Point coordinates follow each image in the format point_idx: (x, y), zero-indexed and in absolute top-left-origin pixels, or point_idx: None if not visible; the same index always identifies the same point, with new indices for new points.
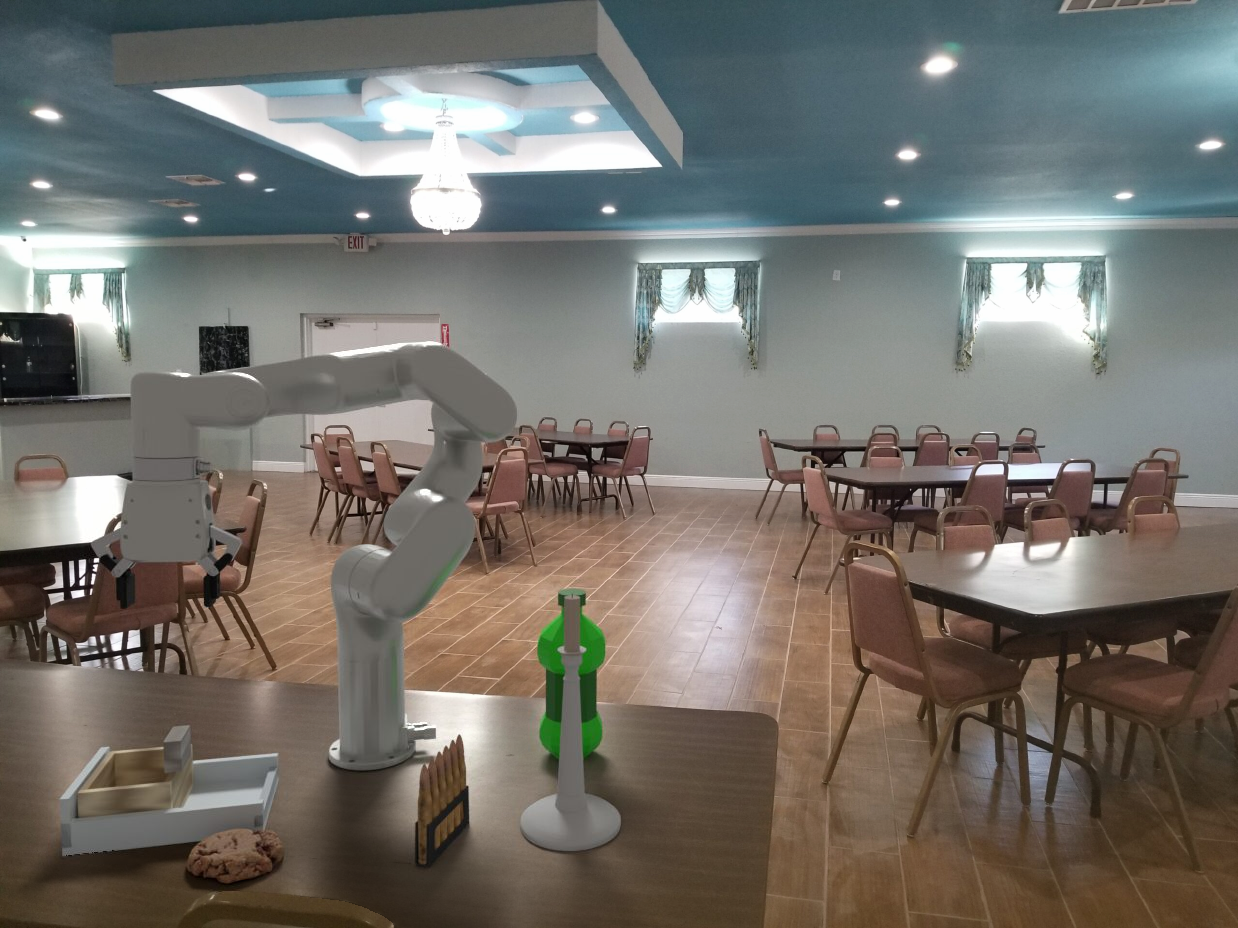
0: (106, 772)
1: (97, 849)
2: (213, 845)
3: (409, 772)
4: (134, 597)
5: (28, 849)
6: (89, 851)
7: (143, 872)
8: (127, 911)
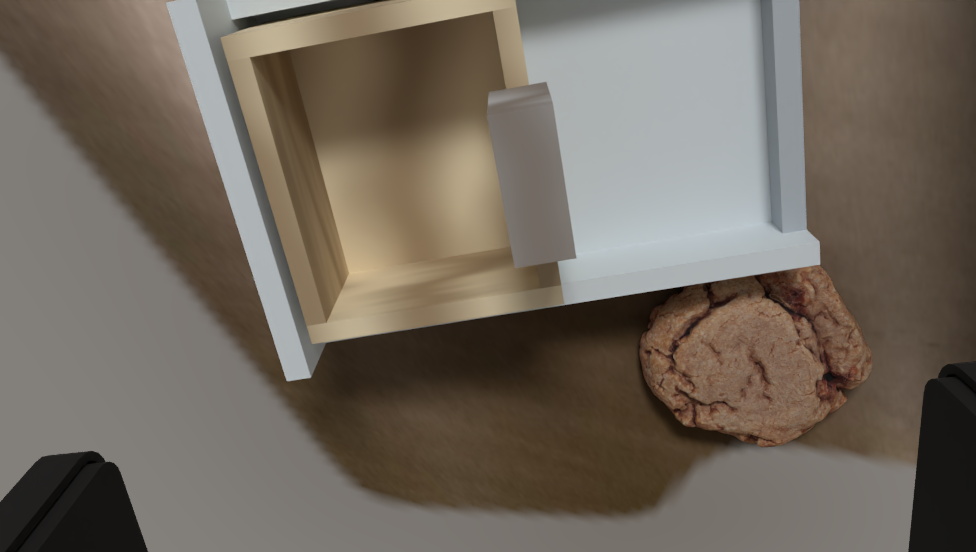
0: (284, 143)
1: None
2: (712, 387)
3: None
4: (89, 509)
5: (217, 271)
6: None
7: (548, 378)
8: (577, 498)
